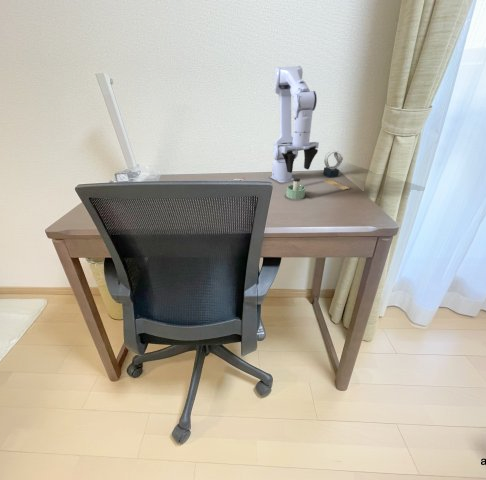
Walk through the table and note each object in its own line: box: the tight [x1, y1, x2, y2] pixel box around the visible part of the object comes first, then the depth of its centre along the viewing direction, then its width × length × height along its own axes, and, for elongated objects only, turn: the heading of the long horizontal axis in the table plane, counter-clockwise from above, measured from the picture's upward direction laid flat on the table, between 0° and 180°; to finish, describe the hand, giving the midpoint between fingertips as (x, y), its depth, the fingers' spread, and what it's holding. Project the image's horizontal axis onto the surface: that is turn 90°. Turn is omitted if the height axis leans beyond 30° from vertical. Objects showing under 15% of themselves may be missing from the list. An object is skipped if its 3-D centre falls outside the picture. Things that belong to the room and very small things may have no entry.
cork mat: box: [323, 179, 351, 191], centre depth 107 cm, size 12×20×1 cm, turn 112°
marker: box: [292, 176, 301, 190], centre depth 100 cm, size 2×2×7 cm
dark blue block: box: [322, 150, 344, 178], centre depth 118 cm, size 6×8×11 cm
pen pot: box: [285, 183, 307, 200], centre depth 101 cm, size 7×7×4 cm
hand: (298, 170), depth 96 cm, fingers open, 7 cm apart
